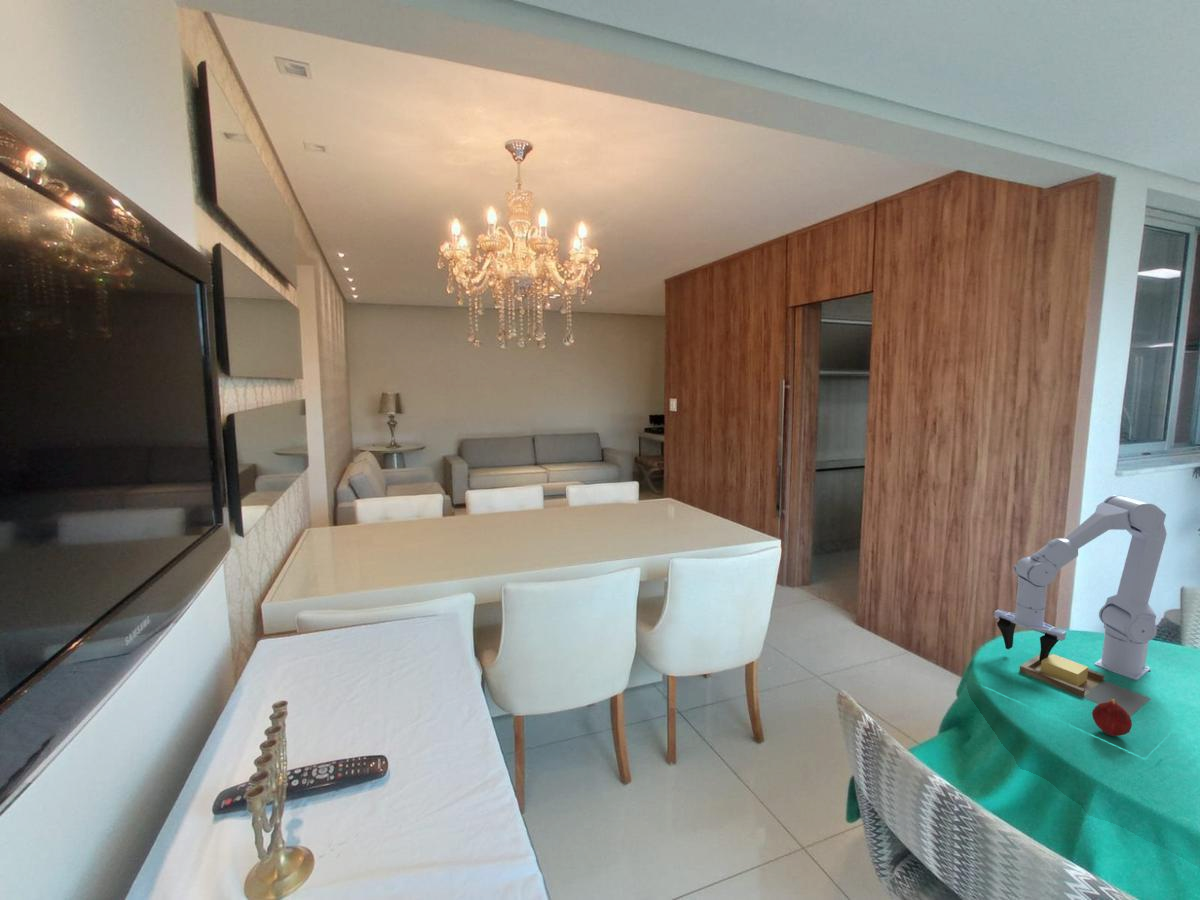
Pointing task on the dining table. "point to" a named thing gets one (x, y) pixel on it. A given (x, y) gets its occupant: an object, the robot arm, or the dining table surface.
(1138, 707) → the mat
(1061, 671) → the block
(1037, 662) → the brown wooden tray
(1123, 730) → the onion
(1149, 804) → the dining table surface
